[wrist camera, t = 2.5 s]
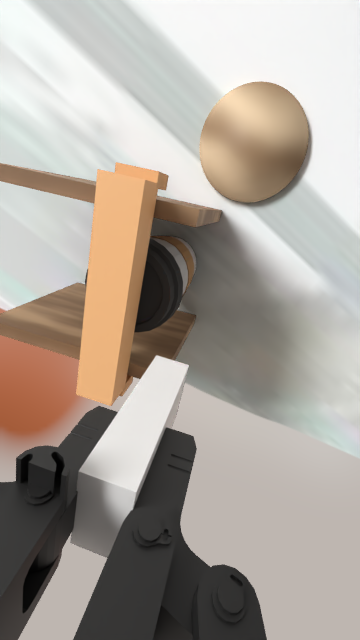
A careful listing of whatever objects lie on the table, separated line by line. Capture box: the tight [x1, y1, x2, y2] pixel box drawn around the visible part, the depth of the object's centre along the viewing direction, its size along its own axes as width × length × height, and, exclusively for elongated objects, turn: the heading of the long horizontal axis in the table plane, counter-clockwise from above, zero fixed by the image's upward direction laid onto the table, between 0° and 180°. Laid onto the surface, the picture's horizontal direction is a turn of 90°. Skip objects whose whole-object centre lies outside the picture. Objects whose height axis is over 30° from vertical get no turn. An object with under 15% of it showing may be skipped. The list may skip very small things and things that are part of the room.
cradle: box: [0, 163, 222, 379], centre depth 32 cm, size 14×17×16 cm
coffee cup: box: [85, 236, 196, 333], centre depth 31 cm, size 8×8×15 cm
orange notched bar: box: [76, 162, 168, 406], centre depth 23 cm, size 18×3×5 cm, turn 167°
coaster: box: [200, 82, 309, 202], centre depth 32 cm, size 11×11×1 cm
